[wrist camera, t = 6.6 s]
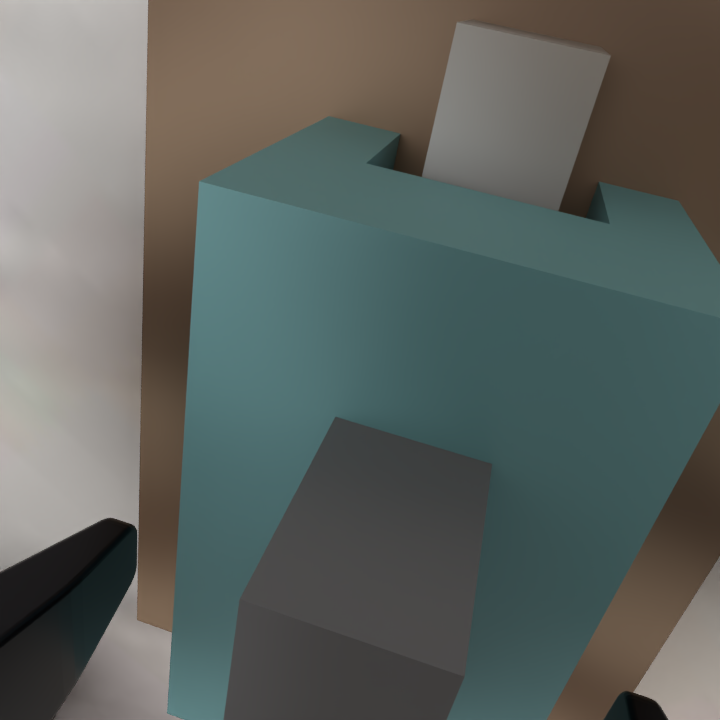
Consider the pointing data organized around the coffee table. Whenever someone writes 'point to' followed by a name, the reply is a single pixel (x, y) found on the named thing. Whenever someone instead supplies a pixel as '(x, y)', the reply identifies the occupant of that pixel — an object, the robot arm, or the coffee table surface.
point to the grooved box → (421, 432)
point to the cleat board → (400, 92)
